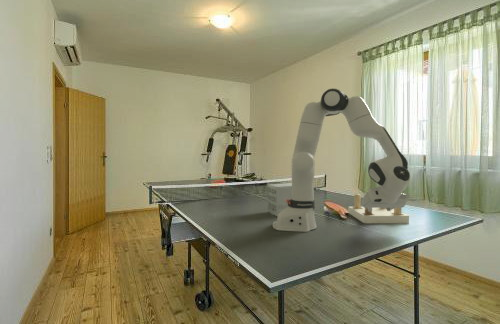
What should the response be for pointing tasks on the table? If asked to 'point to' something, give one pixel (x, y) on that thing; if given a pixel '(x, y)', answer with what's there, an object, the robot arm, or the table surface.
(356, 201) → the stool seat
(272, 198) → the supplement box
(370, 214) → the stool leg
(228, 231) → the table surface
